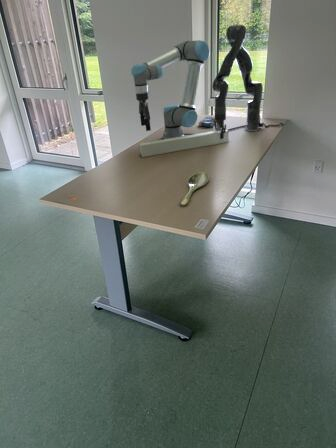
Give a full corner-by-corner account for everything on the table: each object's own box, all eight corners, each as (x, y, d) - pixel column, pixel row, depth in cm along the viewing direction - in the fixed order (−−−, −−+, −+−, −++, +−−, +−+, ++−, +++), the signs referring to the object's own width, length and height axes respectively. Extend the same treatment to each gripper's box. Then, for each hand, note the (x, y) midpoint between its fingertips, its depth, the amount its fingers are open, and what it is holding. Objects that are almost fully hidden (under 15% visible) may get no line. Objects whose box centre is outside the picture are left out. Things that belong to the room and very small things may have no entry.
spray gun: (223, 120, 277) (206, 120, 284) (223, 115, 275) (206, 115, 281) (214, 128, 262) (197, 127, 268) (214, 122, 260) (196, 122, 266)
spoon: (193, 209, 156) (193, 205, 155) (172, 207, 159) (171, 203, 158) (212, 175, 182) (212, 172, 181) (193, 174, 186) (193, 170, 184)
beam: (142, 157, 218) (141, 145, 214) (140, 154, 223) (139, 143, 219) (228, 141, 231) (228, 130, 227) (225, 139, 235) (225, 129, 231)
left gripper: (153, 95, 192) (156, 131, 203) (143, 88, 212) (146, 122, 224) (140, 96, 190) (144, 133, 201) (131, 90, 211) (136, 124, 222)
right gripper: (230, 113, 217) (229, 139, 225) (220, 109, 229) (220, 134, 237) (219, 115, 215) (219, 141, 224) (210, 111, 227) (211, 135, 236)
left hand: (145, 127), depth 212 cm, fingers open, 13 cm apart
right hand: (220, 137), depth 231 cm, fingers closed on beam, 5 cm apart
